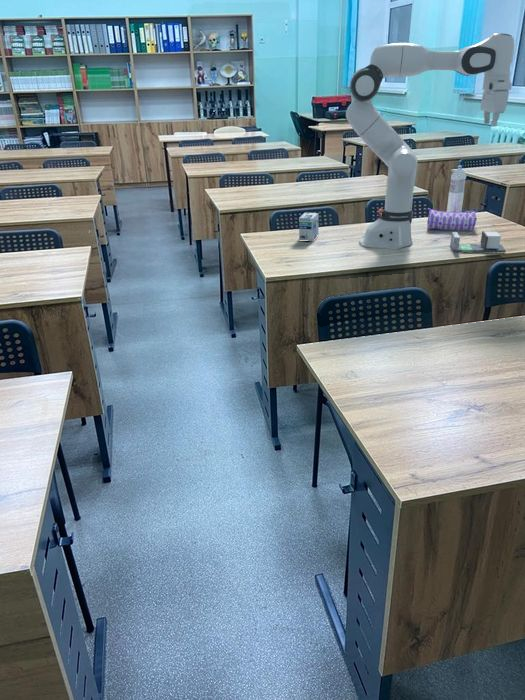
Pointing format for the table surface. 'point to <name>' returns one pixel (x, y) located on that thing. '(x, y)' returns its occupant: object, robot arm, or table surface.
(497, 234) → the white cube on plate
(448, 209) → the water bottle
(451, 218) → the pencil case
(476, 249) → the rail
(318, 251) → the table surface
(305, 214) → the light bulb box
